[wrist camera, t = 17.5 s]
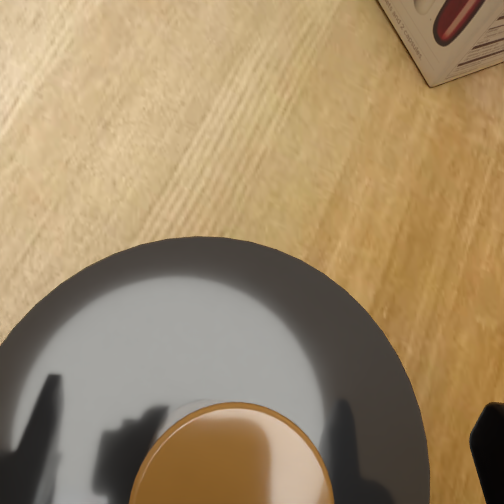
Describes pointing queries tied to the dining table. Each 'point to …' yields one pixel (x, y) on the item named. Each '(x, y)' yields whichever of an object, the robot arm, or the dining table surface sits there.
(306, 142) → the dining table surface
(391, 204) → the dining table surface
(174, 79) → the dining table surface
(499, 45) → the supplement box
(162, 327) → the lid
